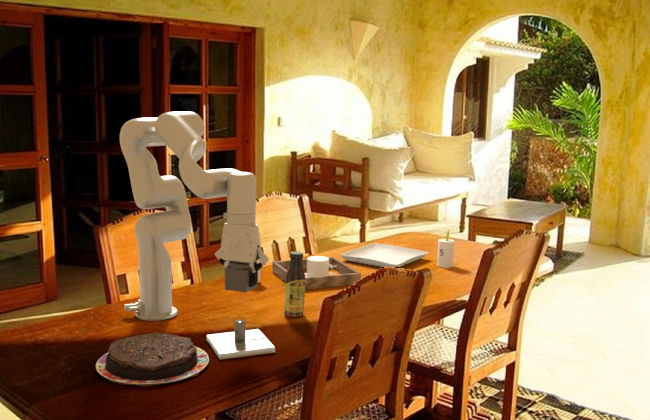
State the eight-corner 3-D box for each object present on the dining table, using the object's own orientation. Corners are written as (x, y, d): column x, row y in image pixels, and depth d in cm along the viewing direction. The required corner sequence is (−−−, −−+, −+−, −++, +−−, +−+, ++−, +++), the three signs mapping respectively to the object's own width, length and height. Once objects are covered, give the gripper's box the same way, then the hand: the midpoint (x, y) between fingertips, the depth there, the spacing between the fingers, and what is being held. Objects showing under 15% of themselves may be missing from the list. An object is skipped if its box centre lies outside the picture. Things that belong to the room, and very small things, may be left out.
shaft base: (219, 359, 183) (219, 333, 181) (206, 340, 196) (206, 315, 195) (274, 352, 188) (275, 327, 187) (258, 333, 202) (258, 310, 201)
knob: (223, 289, 188) (223, 261, 187) (236, 283, 194) (236, 256, 193) (246, 292, 186) (246, 264, 184) (258, 286, 192) (258, 258, 190)
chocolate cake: (227, 373, 175) (227, 348, 174) (114, 399, 160) (113, 371, 159) (184, 339, 198) (184, 316, 197) (82, 358, 183) (81, 334, 182)
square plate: (373, 250, 309) (374, 241, 309) (429, 260, 294) (430, 251, 293) (338, 262, 288) (338, 252, 287) (396, 273, 272) (396, 263, 271)
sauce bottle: (289, 319, 215) (289, 256, 212) (280, 313, 220) (281, 251, 217) (308, 316, 218) (309, 254, 214) (299, 310, 223) (300, 249, 220)
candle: (433, 266, 283) (435, 229, 280) (442, 263, 288) (444, 227, 285) (447, 269, 279) (449, 231, 276) (456, 266, 284) (457, 229, 281)
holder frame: (295, 290, 245) (295, 279, 245) (272, 271, 269) (272, 261, 268) (360, 284, 255) (360, 273, 254) (332, 266, 279) (332, 256, 278)
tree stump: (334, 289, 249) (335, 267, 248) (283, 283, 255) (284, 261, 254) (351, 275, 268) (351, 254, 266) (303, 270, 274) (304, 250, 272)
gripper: (205, 218, 186) (206, 283, 189) (264, 224, 180) (264, 292, 183) (219, 213, 193) (220, 277, 196) (277, 219, 187) (276, 284, 190)
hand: (241, 283), depth 190 cm, fingers closed on knob, 6 cm apart
